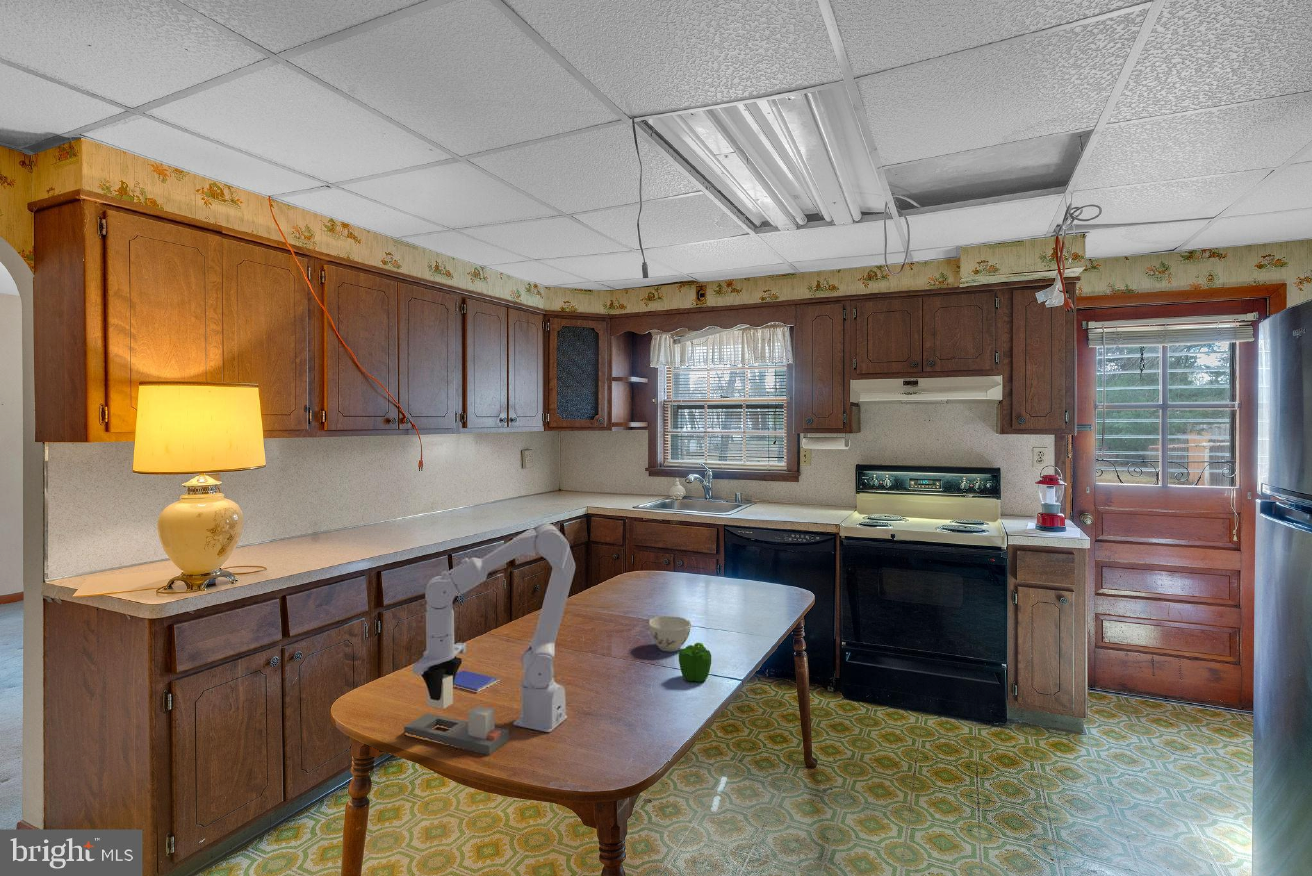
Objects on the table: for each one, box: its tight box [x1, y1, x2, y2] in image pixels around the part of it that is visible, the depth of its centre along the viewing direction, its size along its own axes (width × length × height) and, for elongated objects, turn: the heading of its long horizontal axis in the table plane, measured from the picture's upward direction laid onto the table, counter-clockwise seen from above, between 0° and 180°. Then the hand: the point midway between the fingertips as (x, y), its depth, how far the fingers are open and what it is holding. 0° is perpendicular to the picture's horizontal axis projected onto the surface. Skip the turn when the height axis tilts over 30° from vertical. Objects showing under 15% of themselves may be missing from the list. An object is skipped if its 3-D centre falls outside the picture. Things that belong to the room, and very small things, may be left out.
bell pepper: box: [678, 641, 712, 683], centre depth 172 cm, size 8×8×10 cm
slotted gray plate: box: [403, 705, 510, 756], centre depth 141 cm, size 22×7×7 cm, turn 68°
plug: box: [426, 674, 454, 709], centre depth 142 cm, size 4×3×6 cm
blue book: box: [453, 669, 501, 692], centre depth 170 cm, size 2×8×12 cm
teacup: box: [648, 615, 692, 653], centre depth 196 cm, size 15×12×8 cm
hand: (441, 695), depth 142 cm, fingers closed on plug, 3 cm apart
